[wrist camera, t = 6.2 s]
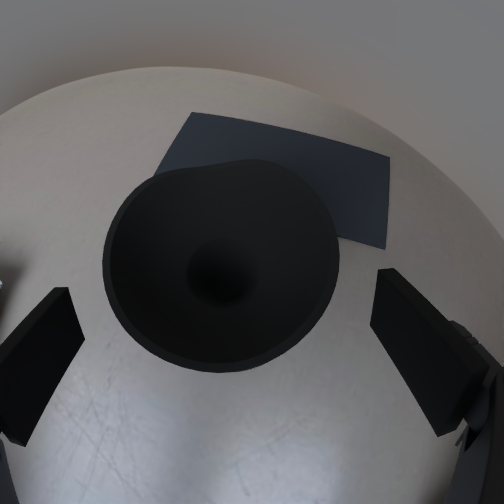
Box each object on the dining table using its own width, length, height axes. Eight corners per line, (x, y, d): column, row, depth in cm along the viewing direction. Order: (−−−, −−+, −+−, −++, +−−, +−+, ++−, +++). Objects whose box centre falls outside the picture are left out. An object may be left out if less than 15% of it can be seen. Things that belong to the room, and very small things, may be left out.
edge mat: (389, 158, 27) (389, 157, 26) (384, 249, 23) (385, 248, 23) (192, 113, 29) (191, 111, 29) (147, 189, 25) (146, 187, 25)
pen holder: (253, 403, 18) (256, 423, 9) (139, 326, 20) (63, 277, 11) (324, 286, 21) (373, 213, 12) (214, 224, 24) (194, 126, 14)
